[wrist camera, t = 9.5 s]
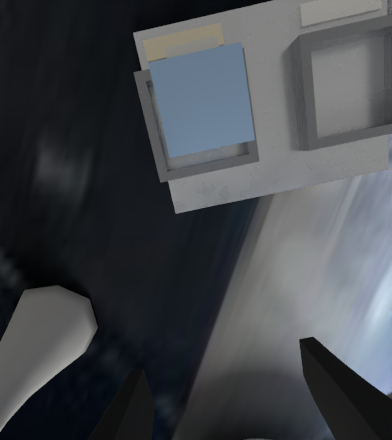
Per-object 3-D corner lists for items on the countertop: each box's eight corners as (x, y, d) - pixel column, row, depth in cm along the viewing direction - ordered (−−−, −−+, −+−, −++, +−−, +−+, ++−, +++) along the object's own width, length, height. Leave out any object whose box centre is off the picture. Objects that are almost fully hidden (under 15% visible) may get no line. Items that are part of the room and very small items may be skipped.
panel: (380, -17, 17) (415, -47, 14) (383, 167, 20) (411, 169, 17) (131, 40, 17) (121, 21, 15) (172, 211, 20) (169, 220, 18)
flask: (15, 277, 21) (-129, 381, 12) (102, 289, 22) (32, 399, 12) (15, 348, 23) (-108, 488, 14) (95, 358, 24) (31, 500, 14)
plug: (220, 70, 17) (238, 22, 10) (232, 143, 18) (254, 140, 12) (161, 84, 17) (143, 44, 11) (176, 155, 18) (169, 158, 12)
